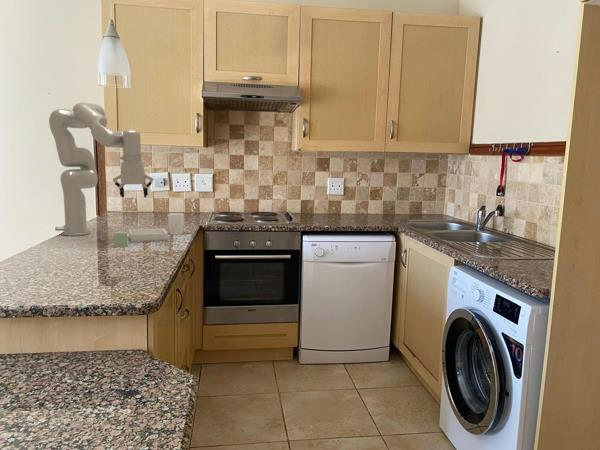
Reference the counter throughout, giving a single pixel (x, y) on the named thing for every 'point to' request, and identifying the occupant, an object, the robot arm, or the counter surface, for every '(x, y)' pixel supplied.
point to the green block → (120, 239)
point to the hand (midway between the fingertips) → (134, 197)
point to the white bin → (148, 235)
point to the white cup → (176, 223)
